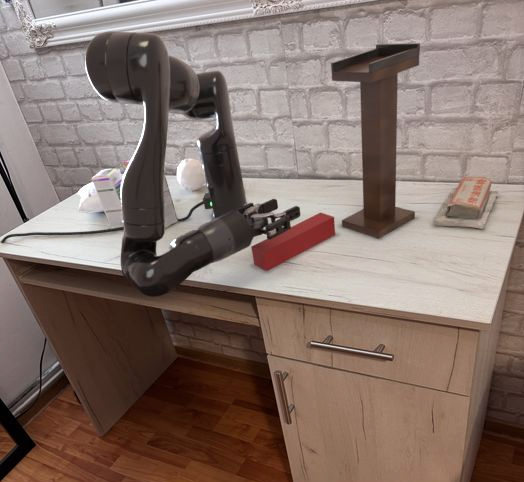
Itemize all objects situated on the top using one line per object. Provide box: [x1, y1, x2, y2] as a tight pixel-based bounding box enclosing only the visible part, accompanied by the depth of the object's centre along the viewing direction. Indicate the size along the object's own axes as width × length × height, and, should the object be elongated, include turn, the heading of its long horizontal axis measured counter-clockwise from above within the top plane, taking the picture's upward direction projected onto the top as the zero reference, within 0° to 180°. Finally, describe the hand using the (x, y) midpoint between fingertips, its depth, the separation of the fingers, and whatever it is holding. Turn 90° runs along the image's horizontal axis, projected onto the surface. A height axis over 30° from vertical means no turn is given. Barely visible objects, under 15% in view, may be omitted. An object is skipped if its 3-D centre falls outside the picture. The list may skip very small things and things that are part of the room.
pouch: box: [77, 174, 124, 214], centre depth 144 cm, size 8×19×20 cm
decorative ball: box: [175, 157, 206, 192], centre depth 144 cm, size 9×10×12 cm
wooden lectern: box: [330, 42, 421, 240], centre depth 98 cm, size 13×11×34 cm
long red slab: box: [250, 212, 336, 272], centre depth 104 cm, size 20×4×4 cm, turn 128°
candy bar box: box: [122, 158, 179, 229], centre depth 125 cm, size 11×5×16 cm, turn 47°
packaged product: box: [434, 176, 499, 230], centre depth 105 cm, size 18×5×10 cm
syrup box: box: [90, 167, 123, 229], centre depth 129 cm, size 6×6×14 cm
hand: (287, 206), depth 98 cm, fingers open, 6 cm apart
